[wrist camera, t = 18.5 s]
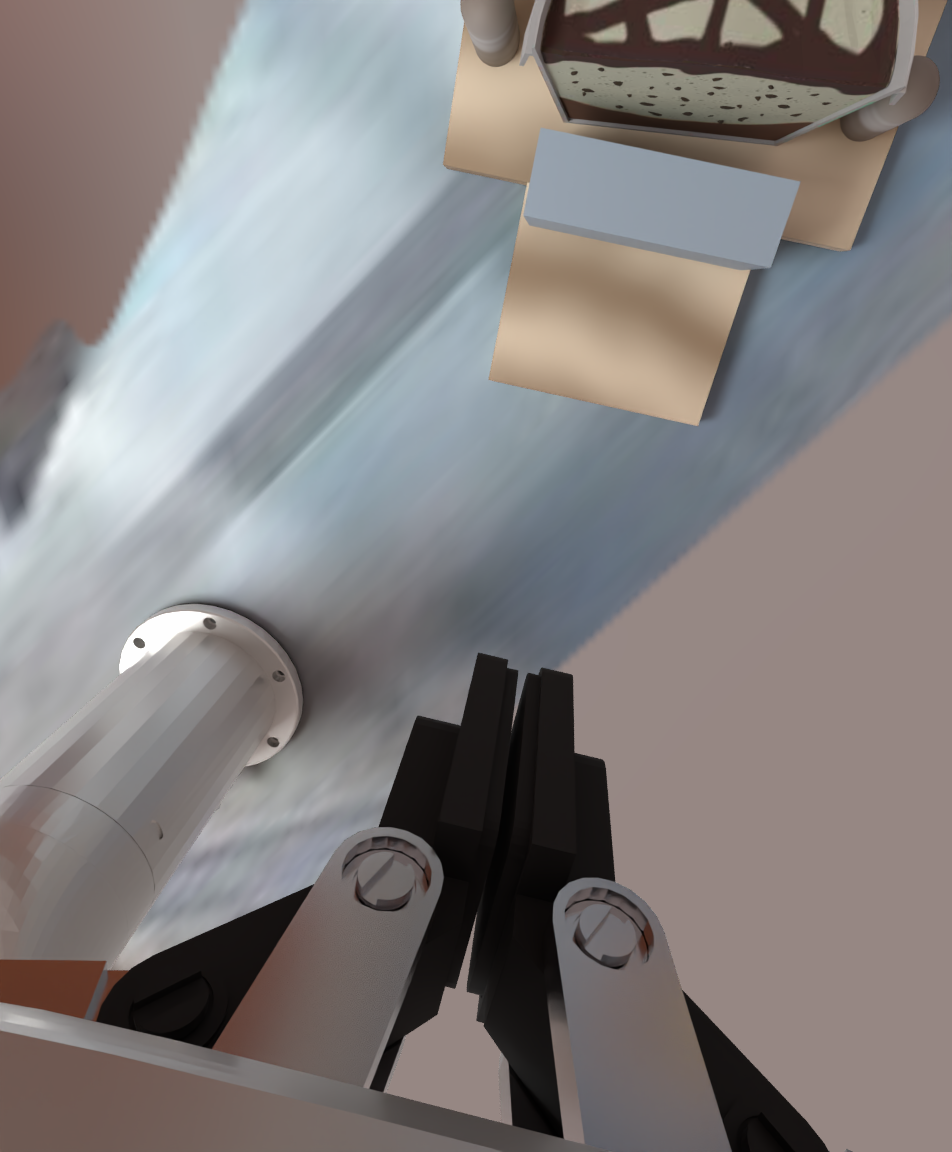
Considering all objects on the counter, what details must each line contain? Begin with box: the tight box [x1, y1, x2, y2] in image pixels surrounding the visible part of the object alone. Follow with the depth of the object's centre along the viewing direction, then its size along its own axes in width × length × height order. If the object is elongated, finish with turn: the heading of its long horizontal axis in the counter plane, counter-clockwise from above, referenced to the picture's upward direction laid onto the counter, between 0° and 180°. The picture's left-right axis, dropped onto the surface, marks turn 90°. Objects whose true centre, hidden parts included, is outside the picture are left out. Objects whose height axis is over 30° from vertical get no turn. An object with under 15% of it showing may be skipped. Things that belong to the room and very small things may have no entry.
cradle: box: [443, 0, 947, 426], centre depth 29 cm, size 21×19×5 cm
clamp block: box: [523, 128, 800, 270], centre depth 28 cm, size 3×10×5 cm, turn 79°
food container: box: [519, 0, 919, 146], centre depth 23 cm, size 12×6×10 cm, turn 83°
